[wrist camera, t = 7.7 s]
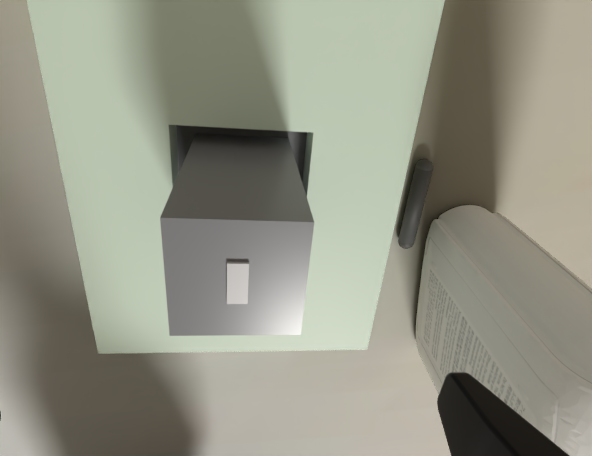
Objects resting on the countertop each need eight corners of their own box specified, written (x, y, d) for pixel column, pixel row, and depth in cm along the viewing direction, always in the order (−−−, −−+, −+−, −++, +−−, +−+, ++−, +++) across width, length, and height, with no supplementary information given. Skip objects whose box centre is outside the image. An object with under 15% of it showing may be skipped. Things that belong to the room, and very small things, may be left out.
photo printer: (473, 344, 26) (635, 586, 15) (408, 352, 26) (524, 605, 15) (503, 197, 21) (778, 402, 10) (422, 206, 21) (614, 425, 10)
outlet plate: (389, 324, 24) (400, 350, 22) (110, 326, 22) (97, 355, 20) (477, -31, 16) (507, -36, 14) (38, -81, 14) (5, -94, 12)
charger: (282, 218, 20) (301, 337, 13) (198, 216, 19) (168, 338, 12) (288, 138, 18) (314, 223, 11) (195, 133, 17) (159, 219, 10)
